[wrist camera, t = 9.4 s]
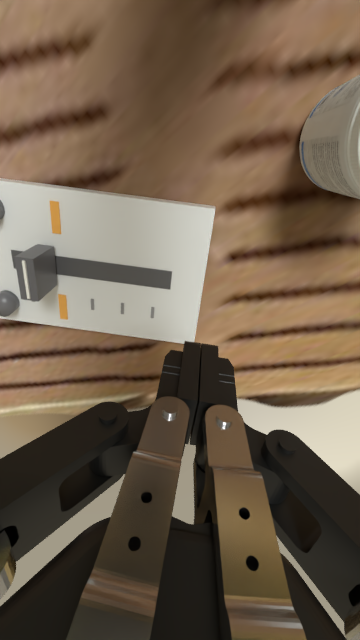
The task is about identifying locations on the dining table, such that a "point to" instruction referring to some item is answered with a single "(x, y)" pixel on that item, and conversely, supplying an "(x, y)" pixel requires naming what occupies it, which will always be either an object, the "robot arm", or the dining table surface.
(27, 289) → the fader tab
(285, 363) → the dining table surface
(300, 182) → the dining table surface
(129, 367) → the dining table surface
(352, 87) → the supplement tub
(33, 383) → the dining table surface
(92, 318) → the console board
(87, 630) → the robot arm
